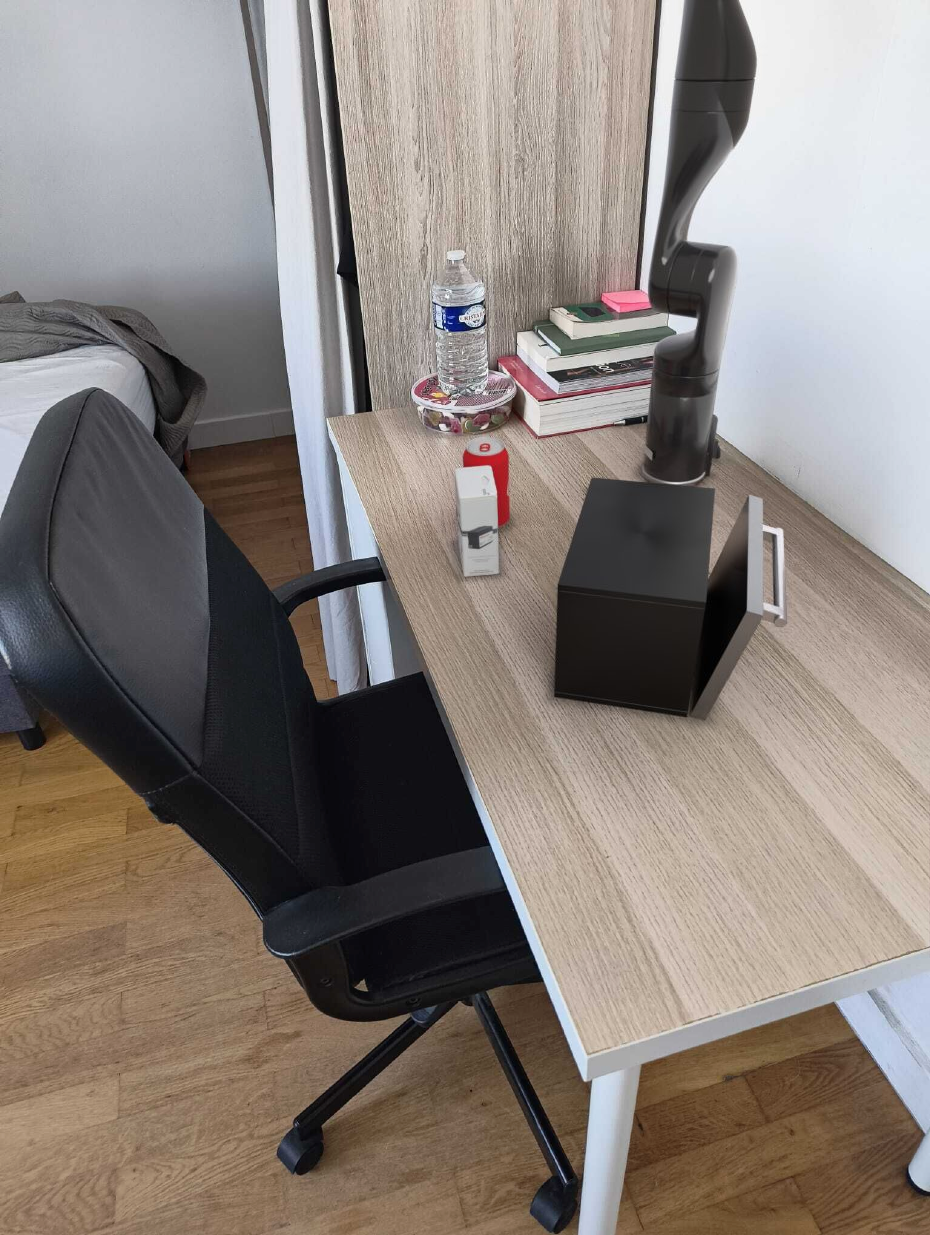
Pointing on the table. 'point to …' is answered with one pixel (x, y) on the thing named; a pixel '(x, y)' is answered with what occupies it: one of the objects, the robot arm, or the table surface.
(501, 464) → the beverage can
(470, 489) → the ink box
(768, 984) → the table surface
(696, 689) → the oven door
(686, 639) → the oven
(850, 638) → the table surface
